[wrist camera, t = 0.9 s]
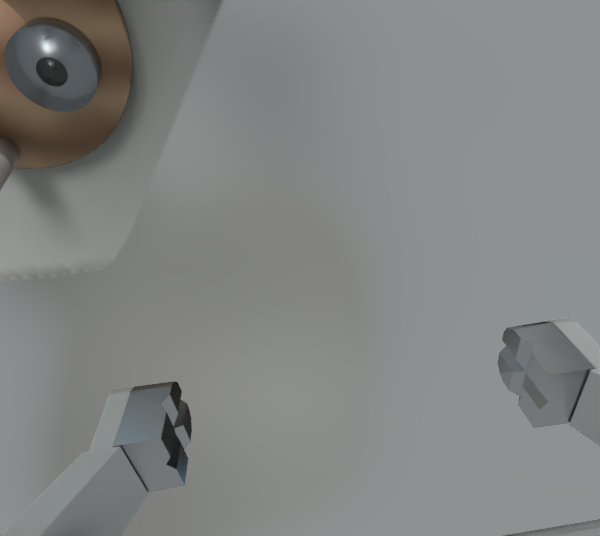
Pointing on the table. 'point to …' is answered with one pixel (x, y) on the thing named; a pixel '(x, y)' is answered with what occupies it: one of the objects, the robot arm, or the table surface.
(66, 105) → the pot lid
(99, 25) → the turntable
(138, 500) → the robot arm
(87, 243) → the table surface
